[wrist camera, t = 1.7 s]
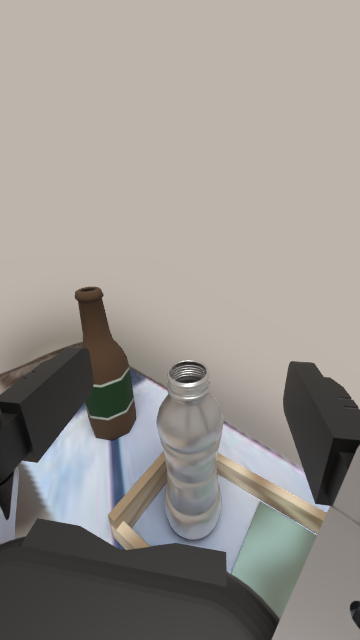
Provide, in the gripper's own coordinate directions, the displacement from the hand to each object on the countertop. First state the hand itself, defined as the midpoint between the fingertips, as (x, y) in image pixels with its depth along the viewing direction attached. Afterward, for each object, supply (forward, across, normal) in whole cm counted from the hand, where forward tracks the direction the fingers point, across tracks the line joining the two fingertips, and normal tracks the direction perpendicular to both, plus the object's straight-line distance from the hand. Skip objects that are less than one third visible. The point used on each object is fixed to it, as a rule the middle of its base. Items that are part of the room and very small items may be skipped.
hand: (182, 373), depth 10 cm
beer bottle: (+23, +16, +26) cm, 38 cm away
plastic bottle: (+11, 0, +26) cm, 29 cm away
